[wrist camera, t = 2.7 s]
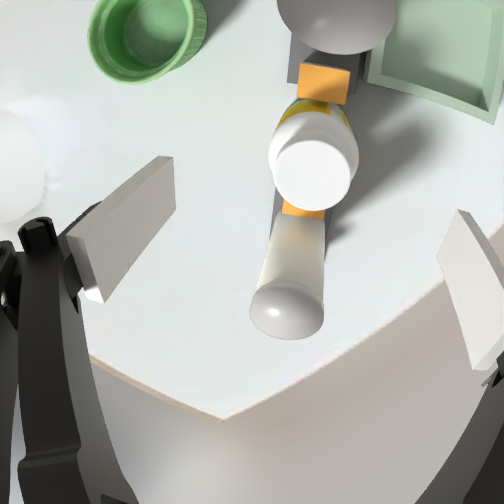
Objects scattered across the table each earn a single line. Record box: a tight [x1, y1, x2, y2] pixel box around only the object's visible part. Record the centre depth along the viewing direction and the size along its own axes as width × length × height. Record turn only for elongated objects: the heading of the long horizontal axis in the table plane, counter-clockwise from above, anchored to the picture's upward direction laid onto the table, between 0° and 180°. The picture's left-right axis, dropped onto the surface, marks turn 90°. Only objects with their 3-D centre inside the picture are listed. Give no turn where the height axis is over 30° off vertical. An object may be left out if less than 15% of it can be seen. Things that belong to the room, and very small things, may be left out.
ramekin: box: [87, 0, 207, 85], centre depth 18 cm, size 9×9×4 cm
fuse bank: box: [249, 0, 396, 340], centre depth 18 cm, size 27×5×12 cm, turn 176°
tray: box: [362, 0, 504, 125], centre depth 15 cm, size 11×11×2 cm
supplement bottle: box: [269, 98, 359, 211], centre depth 19 cm, size 5×5×10 cm
